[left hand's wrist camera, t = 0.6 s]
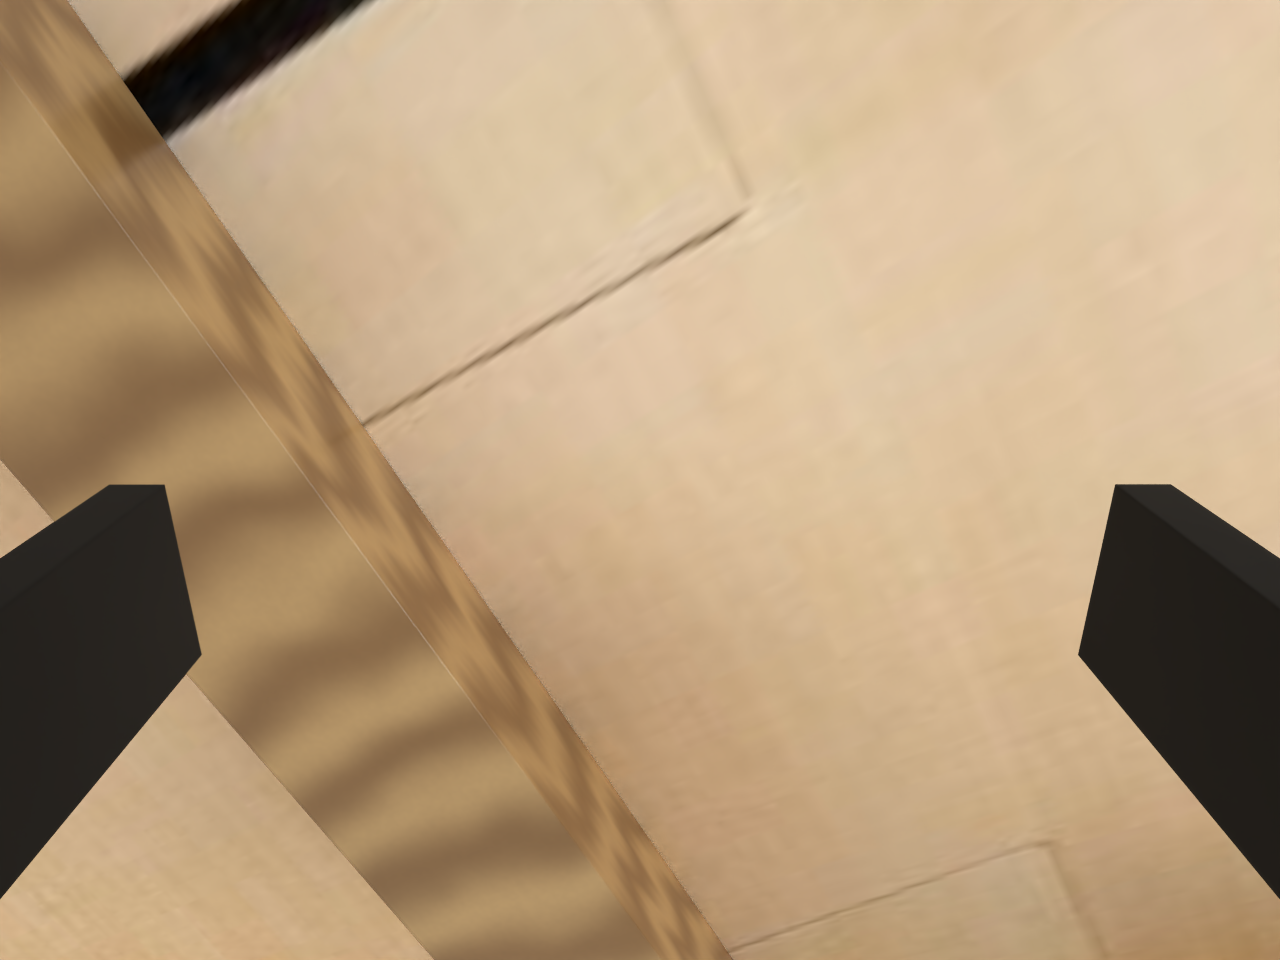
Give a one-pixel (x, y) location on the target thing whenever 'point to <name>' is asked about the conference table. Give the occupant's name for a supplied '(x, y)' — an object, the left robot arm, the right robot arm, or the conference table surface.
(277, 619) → the slab
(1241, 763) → the left robot arm
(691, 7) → the conference table surface
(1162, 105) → the conference table surface
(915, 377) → the conference table surface
